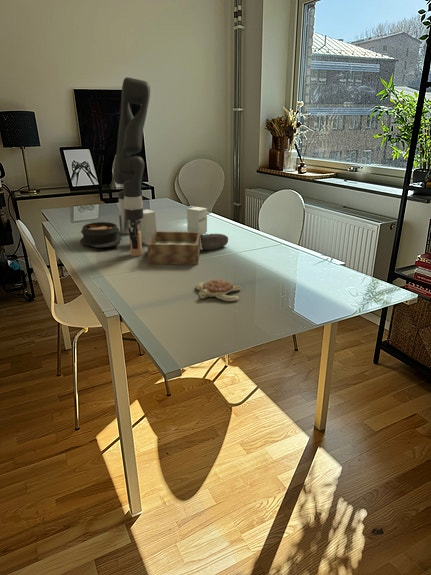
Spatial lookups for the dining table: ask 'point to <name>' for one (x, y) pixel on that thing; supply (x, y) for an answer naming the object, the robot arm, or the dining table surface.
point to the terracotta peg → (139, 250)
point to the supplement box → (197, 220)
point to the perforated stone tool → (213, 241)
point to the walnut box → (174, 248)
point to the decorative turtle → (217, 290)
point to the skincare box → (148, 226)
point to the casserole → (100, 234)
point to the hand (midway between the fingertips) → (136, 246)
